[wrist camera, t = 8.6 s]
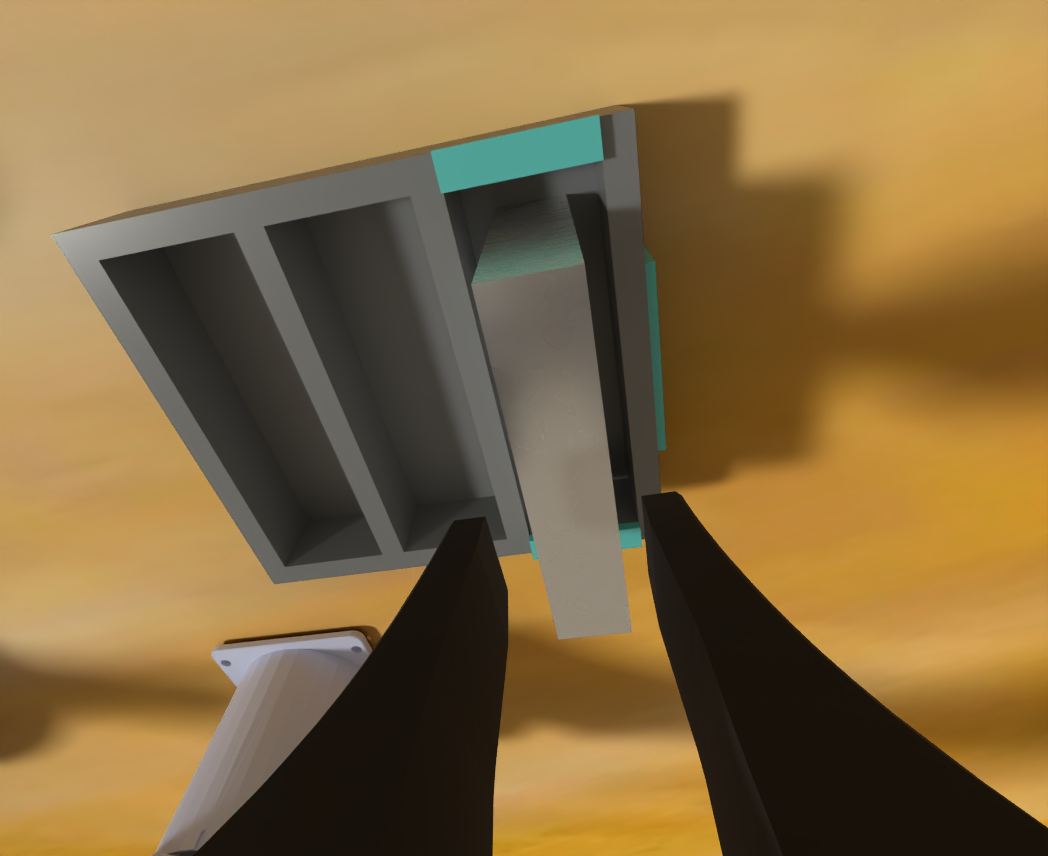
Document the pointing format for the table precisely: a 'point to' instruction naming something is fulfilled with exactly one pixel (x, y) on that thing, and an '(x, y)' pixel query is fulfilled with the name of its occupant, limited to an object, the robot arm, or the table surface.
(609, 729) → the table surface
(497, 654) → the robot arm
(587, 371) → the long gray block
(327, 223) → the rack
